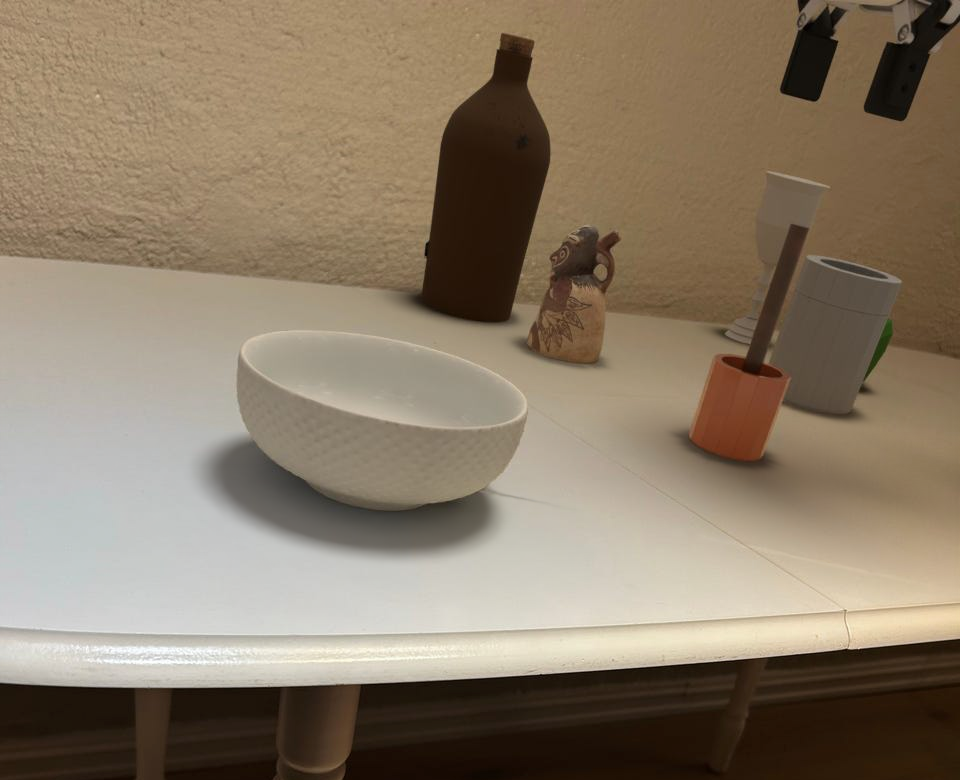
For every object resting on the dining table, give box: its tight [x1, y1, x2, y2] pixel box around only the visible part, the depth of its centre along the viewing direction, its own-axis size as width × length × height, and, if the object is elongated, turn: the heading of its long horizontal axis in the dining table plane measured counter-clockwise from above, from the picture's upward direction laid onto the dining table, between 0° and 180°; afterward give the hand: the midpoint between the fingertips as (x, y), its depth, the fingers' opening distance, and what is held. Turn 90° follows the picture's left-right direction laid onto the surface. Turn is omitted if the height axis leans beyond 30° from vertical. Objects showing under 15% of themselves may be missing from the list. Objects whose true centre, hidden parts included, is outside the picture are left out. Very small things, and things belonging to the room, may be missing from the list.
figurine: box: [526, 224, 622, 364], centre depth 97 cm, size 7×7×12 cm
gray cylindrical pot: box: [767, 254, 903, 415], centre depth 101 cm, size 9×9×13 cm
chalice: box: [724, 170, 831, 345], centre depth 119 cm, size 7×7×18 cm
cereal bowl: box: [236, 329, 529, 512], centre depth 62 cm, size 17×17×7 cm
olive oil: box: [420, 32, 552, 323], centre depth 102 cm, size 11×11×25 cm
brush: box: [741, 223, 809, 376], centre depth 80 cm, size 3×3×17 cm
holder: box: [688, 353, 791, 462], centre depth 82 cm, size 6×6×7 cm
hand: (838, 106), depth 71 cm, fingers open, 9 cm apart
